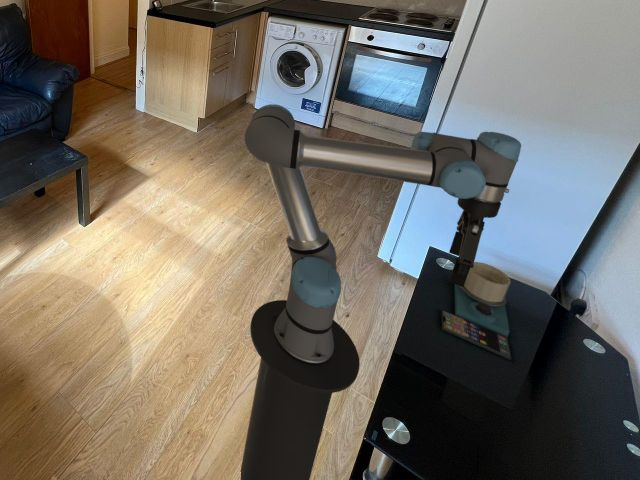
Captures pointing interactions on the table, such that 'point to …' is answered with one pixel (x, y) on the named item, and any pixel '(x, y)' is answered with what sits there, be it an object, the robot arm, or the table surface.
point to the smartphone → (476, 334)
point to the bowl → (487, 282)
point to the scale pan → (495, 304)
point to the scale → (468, 311)
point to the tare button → (484, 308)
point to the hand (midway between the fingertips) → (455, 268)
